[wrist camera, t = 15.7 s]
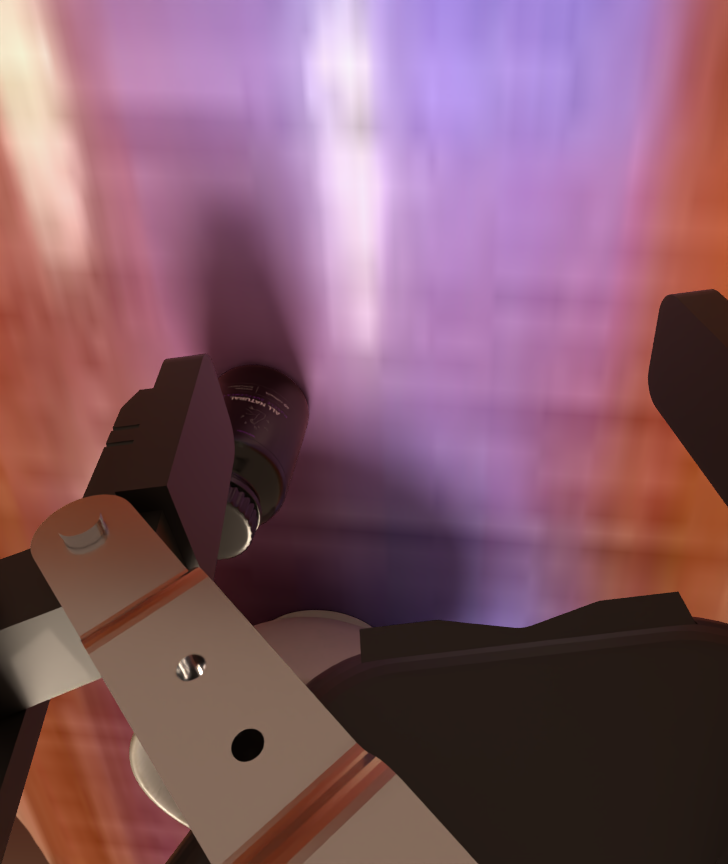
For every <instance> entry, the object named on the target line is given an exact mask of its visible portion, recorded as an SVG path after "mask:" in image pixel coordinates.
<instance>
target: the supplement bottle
mask: <svg viewBox="0 0 728 864" xmlns="http://www.w3.org/2000/svg"><path fill="white" fill-rule="evenodd" d="M218 381H219V385H220V388H221V391H222V395H223V398H224V401H225V405H226V408H227V411H228V415H229V418H230V421H231V425H232V429H233V435H234V445H235V455H234V462H233V468H232V474H231V480H230V486H229V492H228V498H227V504H226V510H225V516H224V522H223V528H222V534H221V540H220V546H219V551H218V557H217V559H218V560H221V559H229V558H230V557H236V556H237V555H239V554H242V552H243V551H245V550H247V548H248V546H249V545H250V544H251V542H252V540H253V537H254V534H255V532H256V530H257V529H258V527H259V526H260V525H262V524H264V523H266V522H267V521H269V520H270V519H271V518H272V517H273V516H275V515H276V513H277V512H278V511H279V510H280V508H281V507H282V505H283V502H284V500H285V497H286V494H287V491H288V488H289V485H290V481H291V478H292V475H293V471H294V468H295V465H296V462H297V458H298V455H299V452H300V448H301V445H302V442H303V439H304V435H305V432H306V428H307V424H308V419H309V410H308V405H307V401H306V399H305V396H304V394H303V393H302V391H301V389H300V388H299V387H298V386H297V384H296V383H295V382H294V381H293V380H291V379H290V378H289V377H288V376H286V375H285V374H283V373H282V372H280V371H278V370H275V369H273V368H270V367H266V366H261V365H243V366H238V367H235V368H233V369H230V370H229V371H227V372H225V373H224V374H222V375H221V376H220V377H219V378H218Z"/></svg>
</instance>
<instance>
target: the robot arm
mask: <svg viewBox="0 0 728 864" xmlns="http://www.w3.org/2000/svg"><path fill="white" fill-rule="evenodd" d="M648 385H649V391H650V395H651V398H652V401H653V403H654V405H655V407H656V408H657V410H658V411H659V412H660V414H661V415H662V416H663V418H664V419H665V421H666V422H667V423H668V425H669V426H670V428H671V429H672V430H673V432H674V433H675V434H676V436H677V437H678V439H679V440H680V441H681V443H682V444H683V446H684V447H685V448H686V450H687V451H688V452H689V454H690V455H691V457H692V458H693V459H694V461H695V462H696V464H697V465H698V466H699V468H700V469H701V470H702V472H703V473H704V475H705V476H706V477H707V479H708V480H709V482H710V483H711V484H712V486H713V487H714V488H715V490H716V491H717V493H718V494H719V495H720V497H721V498H722V500H723V501H724V502H725V504H726V505H727V506H728V300H727V299H726V298H725V297H724V296H722V295H721V294H720V293H719V292H718V291H716V290H714V289H709V290H701V291H694V292H686V293H678V294H671V295H667V296H666V297H665V298H664V299H663V301H662V303H661V306H660V309H659V314H658V320H657V326H656V332H655V337H654V343H653V349H652V355H651V360H650V366H649V373H648ZM106 445H107V447H104V449H103V452H102V454H101V456H100V459H99V461H98V463H97V466H96V468H95V470H94V473H93V475H92V477H91V480H90V482H89V484H88V487H87V489H86V491H85V494H84V496H83V498H82V499H79V500H76V501H74V502H72V503H69V504H67V505H65V506H64V507H62V508H60V509H59V510H57V511H56V512H54V513H53V514H52V515H50V516H49V517H48V518H47V519H46V520H45V521H44V522H43V523H42V524H41V525H40V526H39V528H38V529H37V531H36V532H35V534H34V536H33V538H32V541H31V546H30V547H31V548H30V549H28V550H25V551H23V552H20V553H17V554H14V555H12V556H9V557H6V558H3V559H0V864H1V863H2V860H3V856H4V853H5V850H6V846H7V843H8V840H9V836H10V833H11V830H12V826H13V823H14V819H15V816H16V813H17V809H18V806H19V803H20V799H21V796H22V792H23V789H24V786H25V782H26V779H27V775H28V772H29V769H30V765H31V762H32V759H33V755H34V752H35V748H36V745H37V742H38V738H39V735H40V732H41V728H42V725H43V721H44V718H45V715H46V711H47V708H48V704H49V701H50V699H51V698H54V697H56V696H58V695H61V694H63V693H66V692H68V691H71V690H73V689H76V688H78V687H80V686H83V685H85V684H88V683H90V682H93V681H95V680H97V679H100V678H103V680H104V682H105V684H106V685H107V687H108V689H109V690H110V692H111V694H112V696H113V697H114V699H115V701H116V702H117V704H118V706H119V707H120V709H121V711H122V713H123V714H124V716H125V718H126V719H127V721H128V723H129V725H130V726H131V728H132V730H133V731H134V733H135V735H136V737H137V738H138V740H139V742H140V743H141V745H142V747H143V748H144V750H145V752H146V754H147V755H148V757H149V759H150V760H151V762H152V764H153V766H154V767H155V769H156V771H157V772H158V774H159V776H160V777H161V779H162V781H163V783H164V784H165V786H166V788H167V789H168V791H169V793H170V795H171V796H172V798H173V800H174V801H175V803H176V805H177V807H178V808H179V810H180V812H181V813H182V815H183V817H184V818H185V820H186V822H187V824H188V825H189V827H190V829H191V830H190V831H189V833H188V834H187V835H186V837H185V838H184V839H183V841H182V842H181V843H180V845H179V846H178V847H177V849H176V850H175V851H174V853H173V854H172V855H171V857H170V858H169V859H168V861H167V862H166V863H165V864H728V624H727V623H723V622H719V621H714V620H709V619H704V618H699V617H692V616H691V614H690V612H689V610H688V609H687V607H686V605H685V603H684V601H683V599H682V598H681V596H680V594H679V592H671V593H663V594H654V595H646V596H637V597H629V598H620V599H612V600H603V601H598V602H595V603H592V604H589V605H587V606H584V607H581V608H579V609H576V610H573V611H570V612H568V613H565V614H562V615H559V616H557V617H554V618H551V619H549V620H546V621H543V622H540V623H538V624H535V625H532V626H529V627H525V628H510V627H500V626H491V625H481V624H471V623H461V622H452V621H442V620H432V621H424V622H415V623H407V624H398V625H390V626H381V627H373V628H364V629H359V632H360V650H361V654H358V655H355V656H353V657H350V658H347V659H345V660H343V661H341V662H339V663H337V664H335V665H333V666H331V667H330V668H328V669H327V670H325V671H324V672H322V673H320V674H319V675H317V676H316V677H314V678H313V679H312V680H311V681H310V682H308V683H307V684H306V685H305V684H304V683H303V682H302V681H301V680H300V679H299V677H298V676H297V675H296V674H295V673H294V672H293V671H292V670H291V668H290V667H289V666H288V665H287V664H286V663H285V662H284V661H283V659H282V658H281V657H280V656H279V655H278V654H277V653H276V652H275V650H274V649H273V648H272V647H271V646H270V645H269V644H268V643H267V641H266V640H265V639H264V638H263V637H262V636H261V635H260V634H259V632H258V631H257V630H256V629H255V628H254V627H253V626H252V625H251V623H250V622H249V621H248V620H247V619H246V618H245V617H244V616H243V615H242V613H241V612H240V611H239V610H238V609H237V608H236V607H235V606H234V604H233V603H232V602H231V601H230V600H229V599H228V598H227V597H226V595H225V594H224V593H223V592H222V591H221V590H220V589H219V588H218V586H217V585H216V584H215V583H214V582H213V581H214V575H215V569H216V563H217V557H218V551H219V546H220V540H221V534H222V528H223V522H224V516H225V510H226V504H227V498H228V492H229V486H230V480H231V474H232V468H233V462H234V455H235V445H234V435H233V429H232V425H231V421H230V418H229V415H228V411H227V408H226V405H225V401H224V398H223V395H222V391H221V388H220V385H219V381H218V378H217V375H216V371H215V368H214V365H213V362H212V360H211V358H210V356H209V355H208V354H201V355H193V356H185V357H177V358H170V359H165V360H164V362H163V364H162V367H161V369H160V372H159V375H158V377H157V380H156V383H155V385H154V388H151V389H144V390H139V391H138V392H137V393H136V394H135V395H134V396H133V397H132V398H131V399H130V400H129V401H128V402H127V403H126V404H125V405H124V406H123V407H122V408H121V410H120V412H119V414H118V417H117V419H116V421H115V424H114V426H113V431H111V433H110V435H109V438H108V440H107V442H106Z"/></svg>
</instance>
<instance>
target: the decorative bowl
mask: <svg viewBox="0 0 728 864" xmlns="http://www.w3.org/2000/svg"><path fill="white" fill-rule="evenodd" d="M253 627H254V628H255V629H256V630H257V631H258V632H259V634H260V635H261V636H262V637H263V638H264V639H265V640H266V641H267V643H268V644H269V645H270V646H271V647H272V648H273V649H274V650H275V652H276V653H277V654H278V655H279V656H280V657H281V658H282V659H283V661H284V662H285V663H286V664H287V665H288V666H289V667H290V668H291V670H292V671H293V672H294V673H295V674H296V675H297V676H298V677H299V679H300V680H301V681H302V682H303V683H304V684H305V685H306V684H307V683H308V682H310V681H311V680H312V679H313V678H314V677H316V676H317V675H319V674H320V673H322V672H324V671H325V670H327V669H328V668H330V667H331V666H333V665H335V664H337V663H339V662H341V661H343V660H345V659H347V658H350V657H353V656H355V655H358V654H361V650H360V632H359V629H364V628H373V627H371V626H370V625H368V624H367V623H365V622H363V621H361V620H359V619H357V618H354V617H352V616H349V615H346V614H342V613H338V612H332V611H324V610H305V611H298V612H293V613H289V614H286V615H283V616H281V617H279V618H277V619H275V620H272V621H268V622H264V623H261V624H257V625H254V626H253ZM129 758H130V764H131V768H132V771H133V774H134V776H135V778H136V780H137V782H138V783H139V785H140V787H141V788H142V789H143V791H144V792H145V793H146V795H147V796H148V797H149V798H150V799H151V800H152V801H153V802H154V803H155V804H156V805H157V806H158V807H159V808H161V809H162V810H163V811H164V812H166V813H167V814H168V815H170V816H171V817H172V818H174V819H175V820H177V821H178V822H180V823H182V824H183V825H185V826H187V827H188V828H190V827H189V825H188V824H187V822H186V820H185V818H184V817H183V815H182V813H181V812H180V810H179V808H178V807H177V805H176V803H175V801H174V800H173V798H172V796H171V795H170V793H169V791H168V789H167V788H166V786H165V784H164V783H163V781H162V779H161V777H160V776H159V774H158V772H157V771H156V769H155V767H154V766H153V764H152V762H151V760H150V759H149V757H148V755H147V754H146V752H145V750H144V748H143V747H142V745H141V743H140V742H139V740H138V738H137V737H136V735H135V733H133V736H132V739H131V742H130V749H129Z"/></svg>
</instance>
